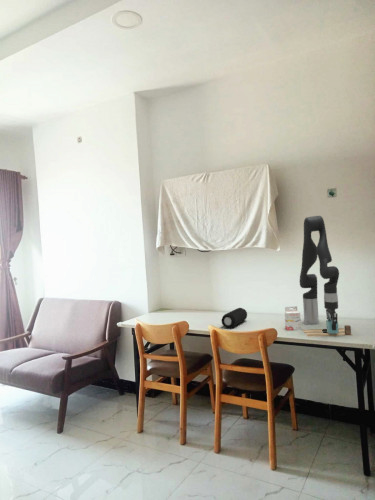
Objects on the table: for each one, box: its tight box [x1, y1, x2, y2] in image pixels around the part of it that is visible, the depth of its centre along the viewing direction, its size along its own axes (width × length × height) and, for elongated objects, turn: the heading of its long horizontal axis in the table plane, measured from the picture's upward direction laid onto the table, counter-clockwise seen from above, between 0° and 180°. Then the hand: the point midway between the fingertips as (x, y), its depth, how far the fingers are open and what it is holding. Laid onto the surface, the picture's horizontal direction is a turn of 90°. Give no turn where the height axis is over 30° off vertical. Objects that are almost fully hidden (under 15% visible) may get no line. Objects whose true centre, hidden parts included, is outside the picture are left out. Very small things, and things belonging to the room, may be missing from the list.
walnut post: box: [343, 324, 352, 336], centre depth 206 cm, size 3×3×5 cm
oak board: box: [302, 327, 353, 338], centre depth 213 cm, size 16×25×1 cm, turn 85°
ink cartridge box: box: [284, 305, 302, 332], centre depth 225 cm, size 9×5×15 cm, turn 92°
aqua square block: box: [325, 319, 339, 333], centre depth 209 cm, size 5×5×7 cm
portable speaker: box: [221, 307, 248, 329], centre depth 249 cm, size 26×10×10 cm, turn 148°
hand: (332, 328), depth 209 cm, fingers open, 6 cm apart
